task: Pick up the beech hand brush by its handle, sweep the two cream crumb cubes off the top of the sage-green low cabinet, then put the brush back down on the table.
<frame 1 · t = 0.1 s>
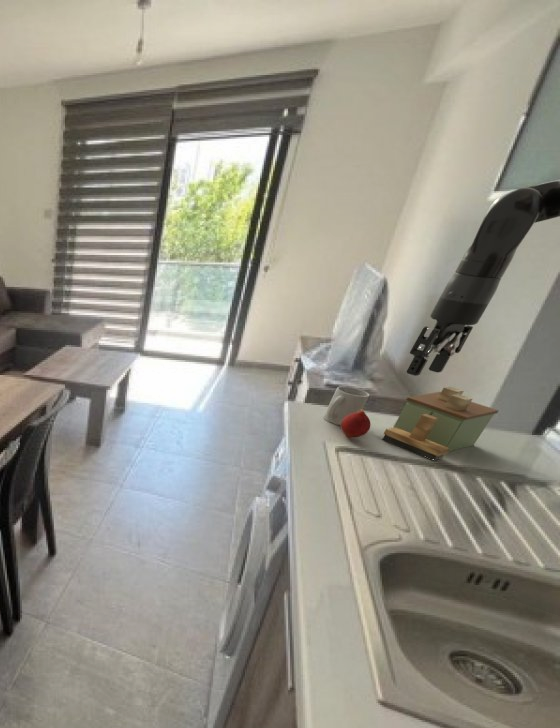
hand: (423, 372, 106), 21 cm above the table, tool pointing down, fingers open, 8 cm apart
onion: (348, 438, 124), on the table
crumb b: (447, 399, 124), point 10 cm above the table, touching cabinet
cabinet: (431, 438, 126), on the table
cup: (335, 422, 133), on the table
brush: (410, 448, 120), on the table
crumb a: (455, 408, 119), point 10 cm above the table, touching cabinet
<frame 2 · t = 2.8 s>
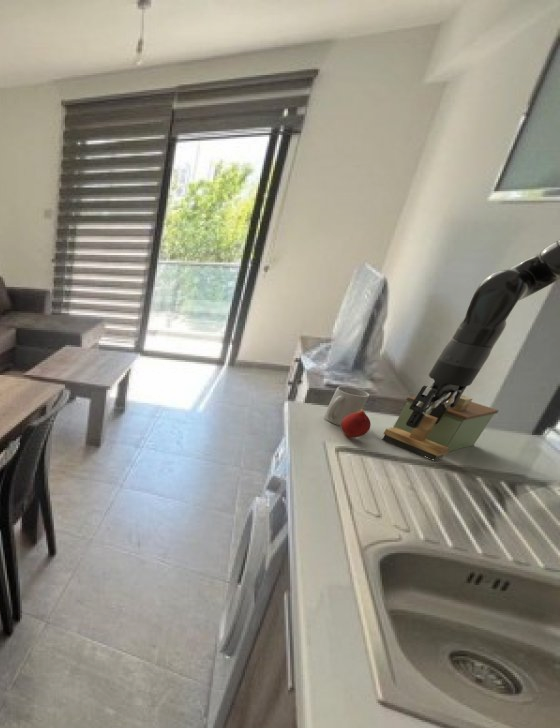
hand: (421, 424, 117), 7 cm above the table, tool pointing down, fingers open, 8 cm apart
nothing on the table moved.
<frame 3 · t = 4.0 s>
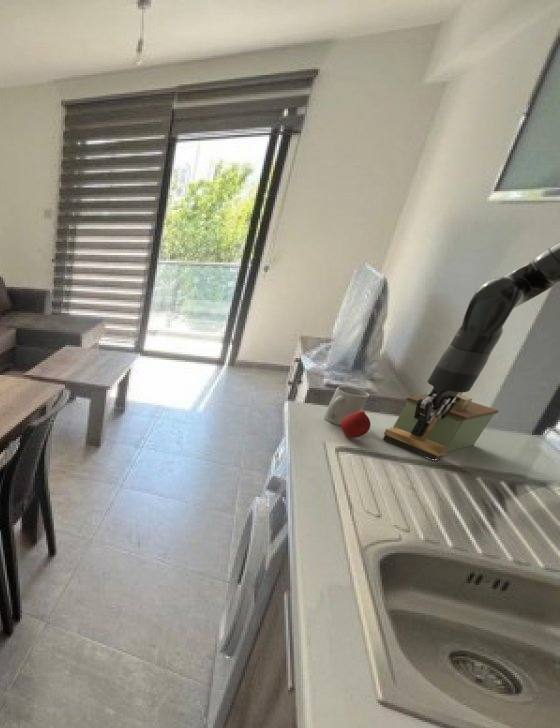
hand: (419, 434, 118), 4 cm above the table, tool pointing down, fingers closed on brush, 2 cm apart
brush: (411, 448, 120), on the table, touching gripper
everything else where it was.
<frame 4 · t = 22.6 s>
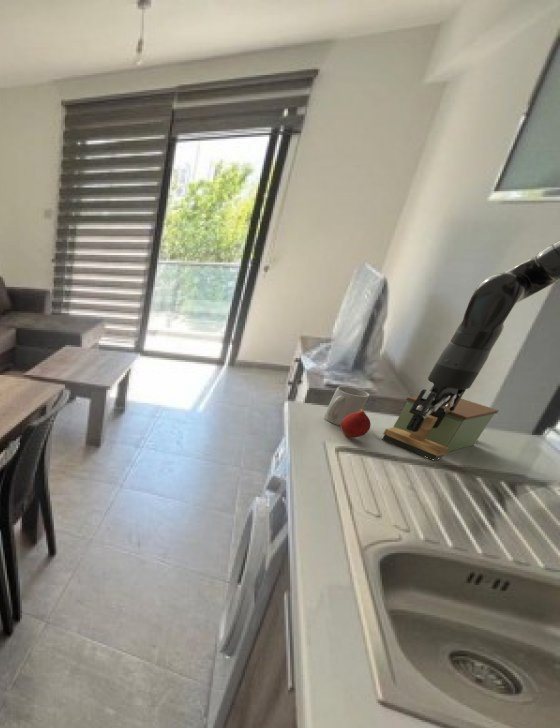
hand: (421, 428, 117), 6 cm above the table, tool pointing down, fingers open, 8 cm apart
crumb b: (449, 419, 130), point 3 cm above the table, tilted 180°
brush: (410, 448, 120), on the table
crumb a: (468, 426, 127), point 3 cm above the table, tilted 180°
everything else where it was.
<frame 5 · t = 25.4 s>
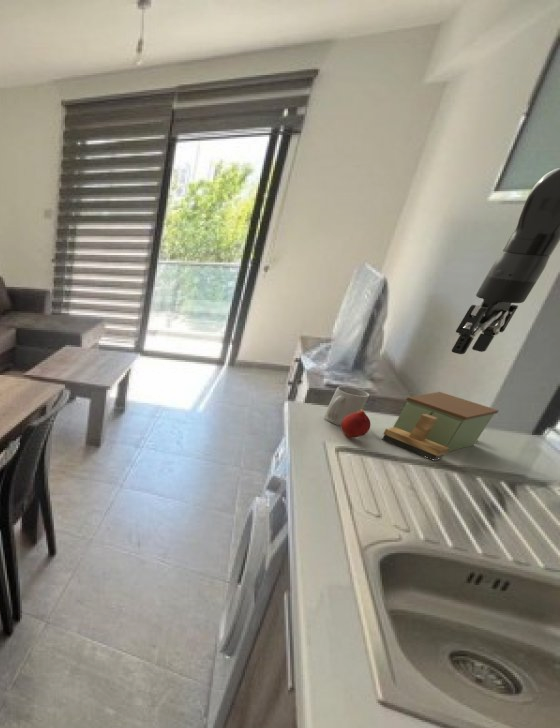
hand: (467, 351, 108), 25 cm above the table, tool pointing down, fingers open, 8 cm apart
nothing on the table moved.
at the end: crumb a point 3.0 cm above the table; crumb b point 3.0 cm above the table; the gripper is holding nothing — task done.
